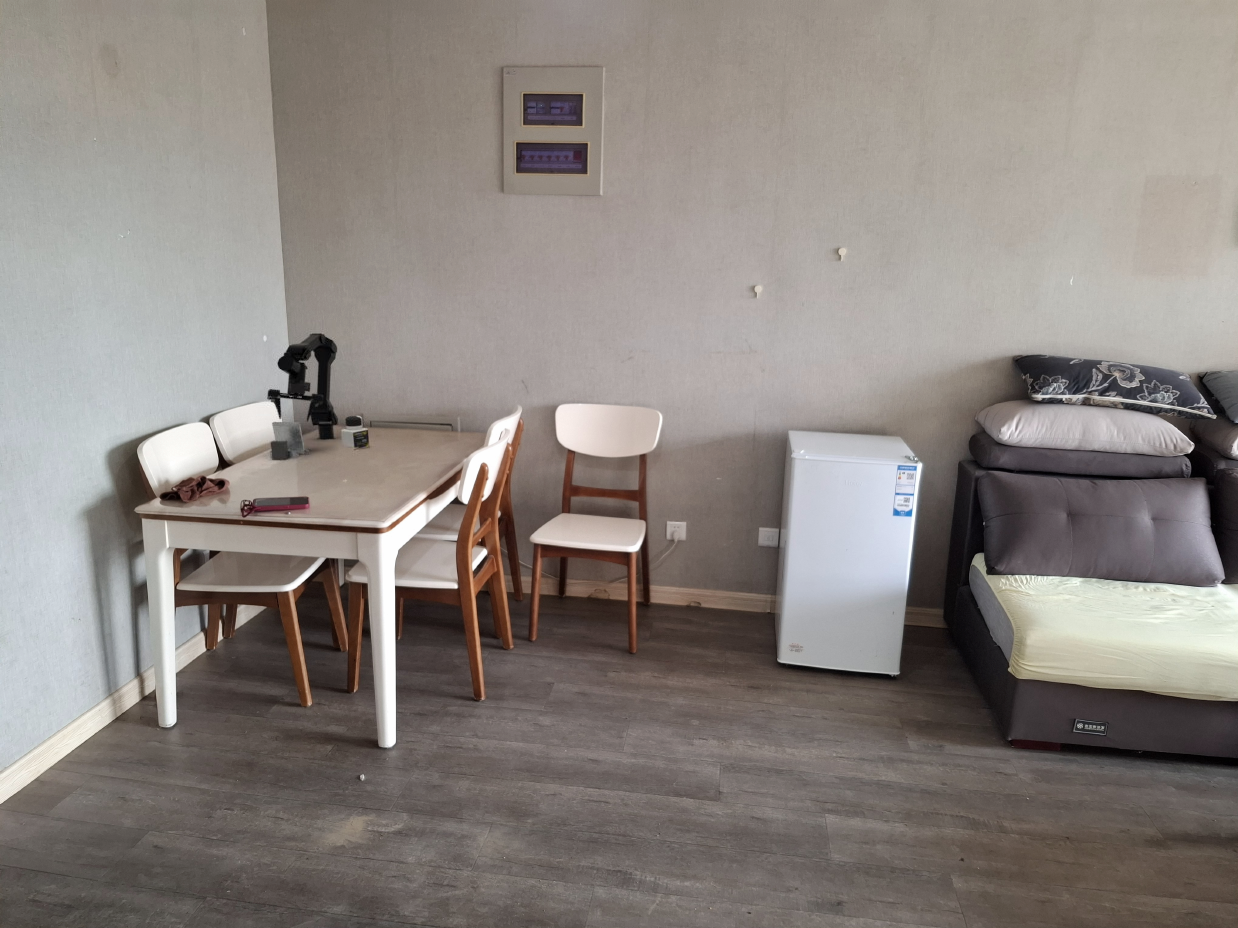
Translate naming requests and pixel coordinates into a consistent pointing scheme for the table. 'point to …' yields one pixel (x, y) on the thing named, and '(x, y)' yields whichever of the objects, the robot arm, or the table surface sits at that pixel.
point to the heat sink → (283, 451)
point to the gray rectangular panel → (289, 435)
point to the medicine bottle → (355, 433)
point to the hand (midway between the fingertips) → (293, 420)
